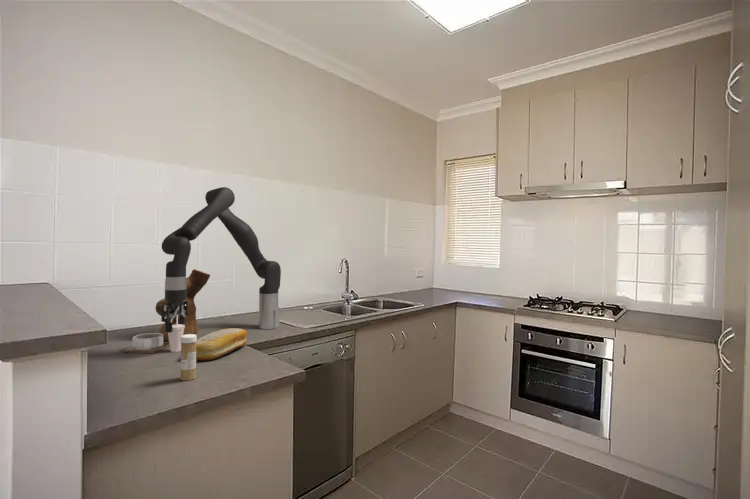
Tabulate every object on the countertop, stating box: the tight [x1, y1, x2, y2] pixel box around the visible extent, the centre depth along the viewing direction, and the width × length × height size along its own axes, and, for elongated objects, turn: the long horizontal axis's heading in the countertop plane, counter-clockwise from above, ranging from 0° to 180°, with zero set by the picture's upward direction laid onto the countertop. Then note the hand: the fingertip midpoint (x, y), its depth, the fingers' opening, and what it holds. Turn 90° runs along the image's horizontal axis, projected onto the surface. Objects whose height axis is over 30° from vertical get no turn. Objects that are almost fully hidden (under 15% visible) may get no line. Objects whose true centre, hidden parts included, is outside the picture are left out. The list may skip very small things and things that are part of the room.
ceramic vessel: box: [155, 268, 211, 343], centre depth 172 cm, size 16×22×30 cm
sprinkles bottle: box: [179, 334, 198, 381], centre depth 120 cm, size 5×5×13 cm
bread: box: [196, 327, 248, 362], centre depth 150 cm, size 13×26×8 cm, turn 169°
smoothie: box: [168, 314, 185, 353], centre depth 150 cm, size 6×6×14 cm
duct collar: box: [122, 332, 170, 354], centre depth 153 cm, size 12×12×5 cm
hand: (175, 329), depth 150 cm, fingers open, 8 cm apart
